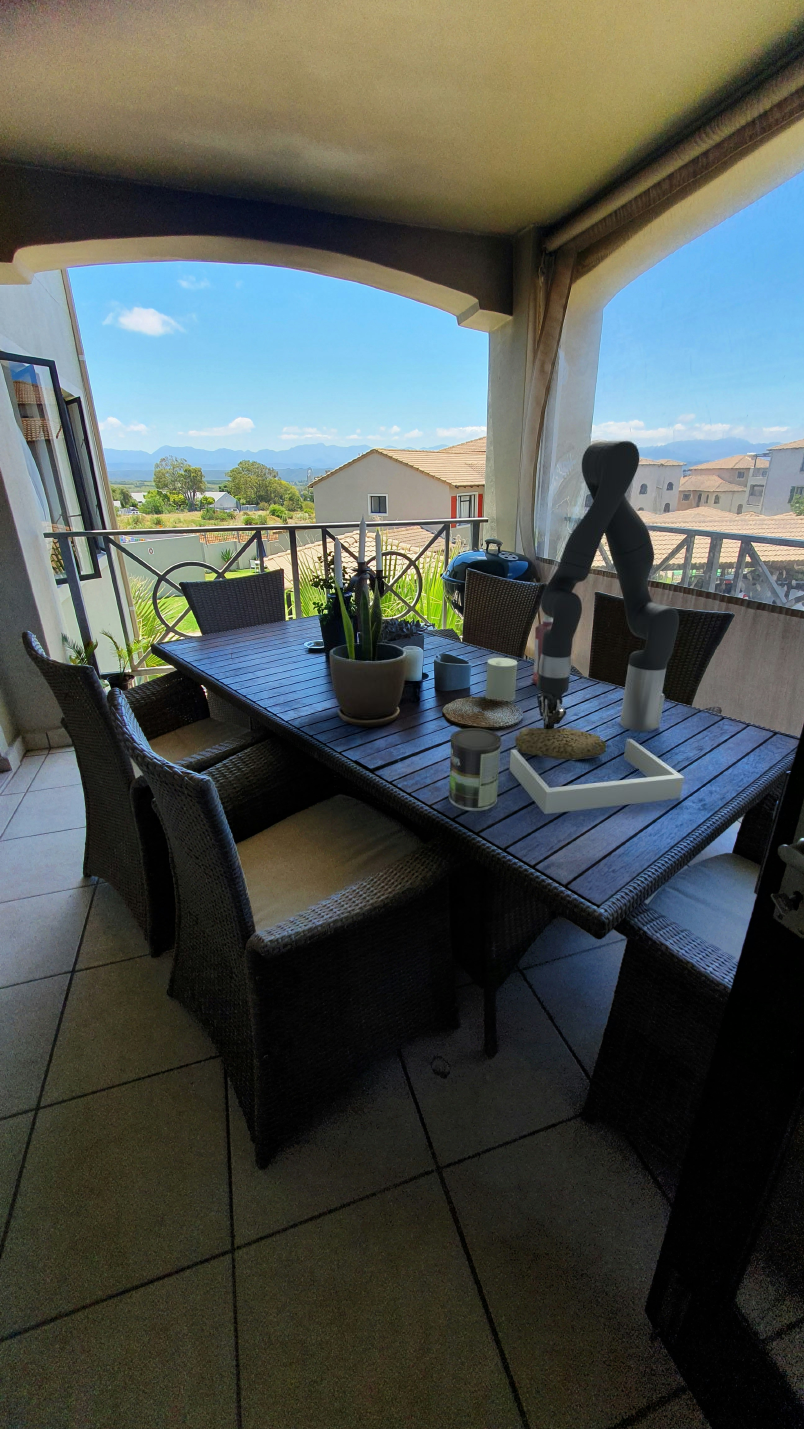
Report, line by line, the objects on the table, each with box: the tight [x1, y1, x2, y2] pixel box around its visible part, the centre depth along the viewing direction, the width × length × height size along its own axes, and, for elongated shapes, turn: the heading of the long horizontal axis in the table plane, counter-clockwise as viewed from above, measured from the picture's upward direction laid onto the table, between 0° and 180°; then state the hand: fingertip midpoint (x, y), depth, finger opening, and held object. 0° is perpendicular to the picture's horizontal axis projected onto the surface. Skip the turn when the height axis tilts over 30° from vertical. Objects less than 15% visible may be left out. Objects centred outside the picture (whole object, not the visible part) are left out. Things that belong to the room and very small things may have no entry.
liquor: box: [531, 613, 553, 686], centre depth 181 cm, size 7×7×28 cm
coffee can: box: [448, 727, 502, 812], centre depth 116 cm, size 10×10×14 cm
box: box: [509, 738, 685, 815], centre depth 123 cm, size 30×20×5 cm, turn 101°
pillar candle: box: [484, 657, 518, 703], centre depth 173 cm, size 9×9×12 cm
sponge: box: [514, 727, 608, 761], centre depth 136 cm, size 13×8×20 cm
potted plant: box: [329, 573, 408, 728], centre depth 154 cm, size 21×22×40 cm
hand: (547, 735), depth 144 cm, fingers closed
